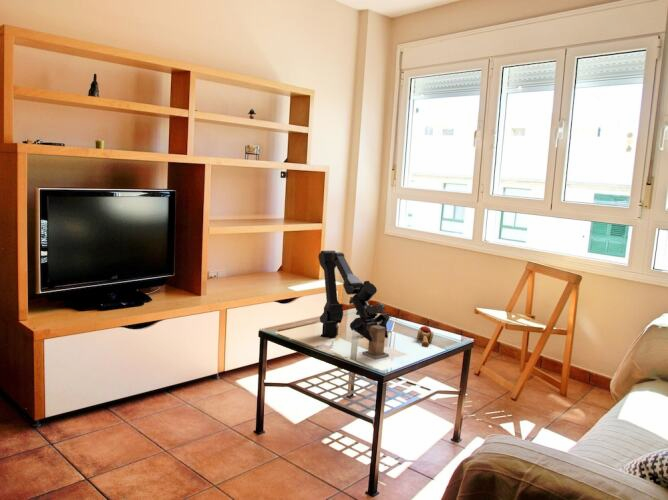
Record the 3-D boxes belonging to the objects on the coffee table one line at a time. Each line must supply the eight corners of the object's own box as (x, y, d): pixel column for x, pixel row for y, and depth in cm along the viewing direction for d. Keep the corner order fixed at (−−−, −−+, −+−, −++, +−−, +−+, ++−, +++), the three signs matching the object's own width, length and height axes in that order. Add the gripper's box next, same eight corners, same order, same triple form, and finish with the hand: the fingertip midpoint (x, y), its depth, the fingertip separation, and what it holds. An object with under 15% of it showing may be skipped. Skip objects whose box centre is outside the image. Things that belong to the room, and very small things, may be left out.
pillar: (367, 354, 236) (370, 326, 234) (375, 352, 239) (377, 325, 237) (375, 357, 233) (378, 329, 231) (383, 356, 236) (385, 327, 234)
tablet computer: (370, 321, 297) (370, 318, 297) (394, 323, 295) (395, 321, 294) (365, 330, 278) (365, 328, 278) (391, 333, 276) (391, 331, 275)
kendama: (435, 351, 254) (433, 335, 272) (434, 338, 253) (432, 322, 270) (417, 352, 256) (417, 336, 273) (416, 339, 254) (415, 324, 271)
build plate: (355, 355, 237) (356, 351, 236) (387, 348, 249) (387, 344, 249) (376, 364, 228) (377, 359, 228) (408, 356, 240) (408, 351, 240)
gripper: (356, 298, 229) (374, 332, 222) (388, 294, 242) (406, 326, 235) (342, 313, 236) (358, 346, 229) (373, 308, 248) (390, 339, 242)
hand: (379, 339), depth 234 cm, fingers open, 9 cm apart
